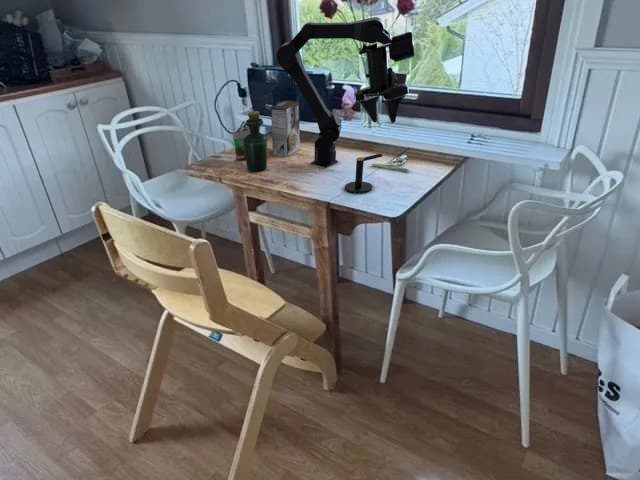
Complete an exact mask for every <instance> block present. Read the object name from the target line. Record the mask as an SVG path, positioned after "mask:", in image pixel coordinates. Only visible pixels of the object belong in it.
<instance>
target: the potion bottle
mask: <svg viewBox="0 0 640 480" xmlns="http://www.w3.org/2000/svg"><path fill="white" fill-rule="evenodd" d="M260 113H261V112H260V111H258V110H252V111H248V112H247V115H248V119H246V120H245V123H246V124H245V125H246V126H248V127H249V129H250V134H248V135H247V136H246V137H245V138H244V140H243V144H244V151H245V157H246V160H245V163H246V169H247V171H248V172H251V173H260V172H263V171H266V169H267V167H268V166H267V164H268V163H267V162H268V141H269V140H268V137H267V136H266V135H265V134H264V133H262V132H260V129H261V126H263V125H264V121H263V119H262V118H260Z"/></svg>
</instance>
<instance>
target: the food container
mask: <svg viewBox="0 0 640 480" xmlns="http://www.w3.org/2000/svg"><path fill="white" fill-rule="evenodd" d="M245 124H246V122H243V125H242V127H239V128H238V129H237V131H236V132H235V131H232V140H233V143H234V150H235V151H234V152H235V161H237V162H241V161H246V157H245V151H244V144H243V140H244V138H245V137H246V136H247V135H248V134H250V129H249V127H248V126H246V125H245Z"/></svg>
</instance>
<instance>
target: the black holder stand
mask: <svg viewBox="0 0 640 480" xmlns="http://www.w3.org/2000/svg"><path fill="white" fill-rule="evenodd" d="M383 156H384V154H383V153H381V152H380V153H377V154H372V155H369V156H368V155H367V156H365V157H364V156H359V157H356V159H355V162H356V165H355V179H354V180H355V181H350V182H347V183H346V184H345V185H344V191H345V192H347V193H350V194H353V195H354V194H355V195H360V194H361V195H363V194H367V193H369V192H371V191H372V190H373V184H372V183H370V182H367V181H363V175H364V162H367V161H371V160H374V159H378V158H382V157H383Z"/></svg>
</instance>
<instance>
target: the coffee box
mask: <svg viewBox="0 0 640 480" xmlns="http://www.w3.org/2000/svg"><path fill="white" fill-rule="evenodd" d="M270 112H271V113H270V117H271V118H270V119H271V120H270V121H271V145H272V155H273V156H279V157H286V158H287V157H290V156H291V155H293V154H294V153H295V152H297V151H298V150H300V149H301V145H300V143H301V141H300V101H293V100H282V101H280V102H279V103H276V104H275V105H273V106H271V107H270Z"/></svg>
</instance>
